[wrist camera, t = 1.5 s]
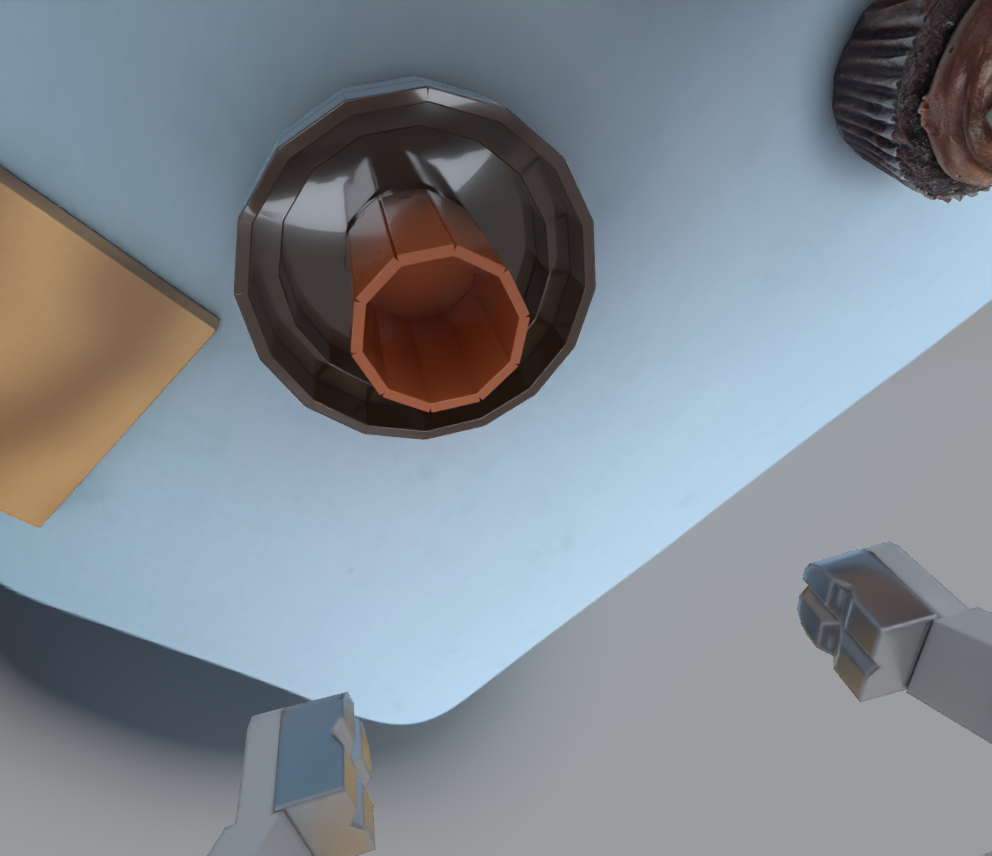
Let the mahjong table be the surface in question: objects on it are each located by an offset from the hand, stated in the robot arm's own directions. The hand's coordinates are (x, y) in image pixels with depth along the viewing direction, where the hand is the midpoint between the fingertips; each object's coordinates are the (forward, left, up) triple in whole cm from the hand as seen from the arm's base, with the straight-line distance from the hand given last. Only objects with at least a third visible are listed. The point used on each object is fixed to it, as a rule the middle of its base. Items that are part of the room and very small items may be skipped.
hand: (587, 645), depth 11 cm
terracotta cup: (0, -1, -21) cm, 21 cm away
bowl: (0, -1, -22) cm, 22 cm away
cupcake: (-4, +23, -22) cm, 32 cm away
